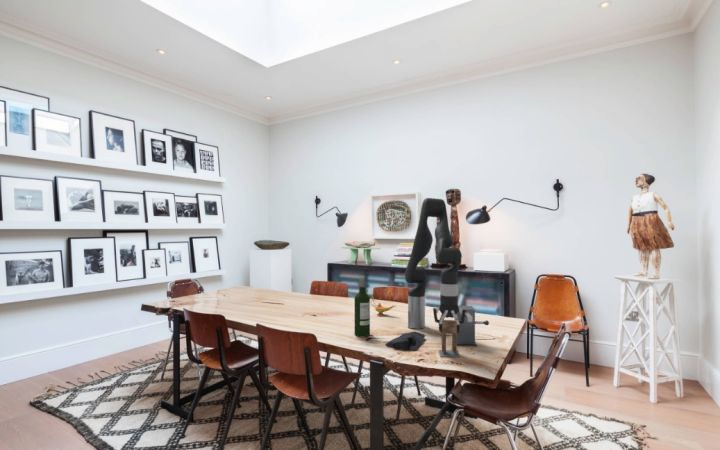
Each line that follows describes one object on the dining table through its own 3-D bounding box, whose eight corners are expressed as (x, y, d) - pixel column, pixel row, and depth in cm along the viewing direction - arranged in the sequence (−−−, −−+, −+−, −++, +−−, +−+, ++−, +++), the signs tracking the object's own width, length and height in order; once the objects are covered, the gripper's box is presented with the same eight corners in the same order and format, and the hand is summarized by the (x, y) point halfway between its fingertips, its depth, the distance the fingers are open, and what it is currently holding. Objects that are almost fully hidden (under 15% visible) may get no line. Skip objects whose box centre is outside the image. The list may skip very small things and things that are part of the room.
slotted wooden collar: (442, 352, 158) (442, 322, 158) (441, 349, 162) (441, 319, 162) (456, 352, 158) (456, 322, 157) (455, 349, 161) (455, 320, 161)
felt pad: (440, 357, 156) (440, 356, 156) (439, 350, 164) (439, 349, 164) (459, 357, 155) (459, 356, 155) (457, 351, 163) (457, 350, 163)
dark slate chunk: (430, 339, 181) (430, 330, 181) (414, 353, 162) (414, 342, 162) (401, 335, 189) (401, 326, 189) (382, 347, 170) (382, 337, 170)
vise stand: (458, 353, 160) (458, 314, 160) (452, 340, 179) (452, 305, 179) (496, 355, 158) (496, 315, 158) (487, 341, 177) (487, 306, 177)
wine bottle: (364, 337, 183) (364, 277, 183) (351, 335, 188) (351, 276, 188) (372, 333, 190) (372, 275, 190) (359, 331, 194) (359, 274, 194)
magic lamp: (393, 318, 222) (393, 300, 222) (367, 314, 232) (367, 296, 232) (398, 316, 227) (398, 298, 227) (373, 312, 237) (373, 295, 237)
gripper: (432, 295, 157) (432, 334, 157) (467, 295, 155) (467, 335, 155) (431, 291, 164) (431, 329, 165) (464, 292, 163) (464, 330, 163)
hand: (449, 332), depth 160 cm, fingers closed on slotted wooden collar, 6 cm apart
